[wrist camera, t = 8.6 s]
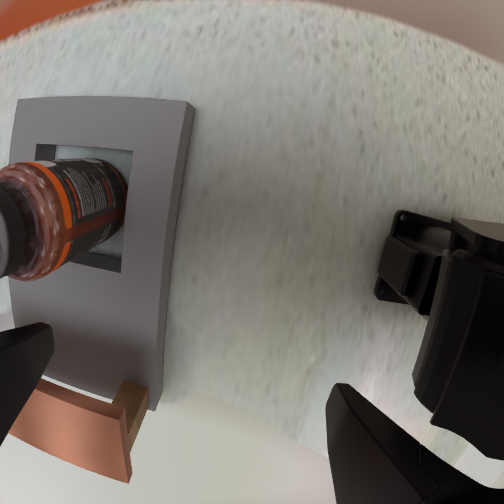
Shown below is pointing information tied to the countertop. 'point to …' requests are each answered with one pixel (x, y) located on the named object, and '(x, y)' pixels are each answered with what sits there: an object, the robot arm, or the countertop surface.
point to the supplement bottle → (56, 213)
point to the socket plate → (134, 242)
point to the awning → (84, 426)
